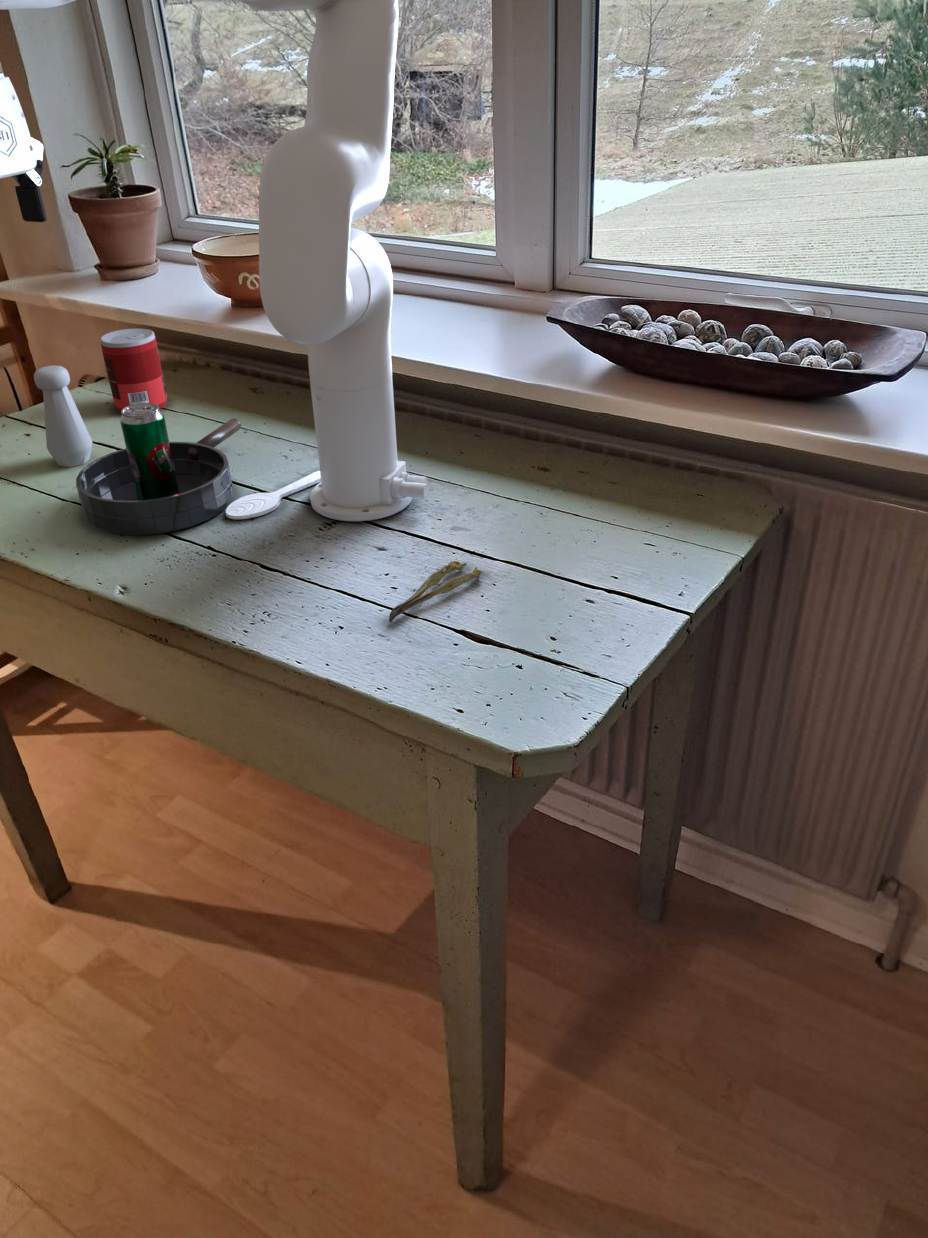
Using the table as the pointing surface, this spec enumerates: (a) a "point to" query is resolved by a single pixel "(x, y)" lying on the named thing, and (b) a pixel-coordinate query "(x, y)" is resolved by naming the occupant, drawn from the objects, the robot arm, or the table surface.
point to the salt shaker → (62, 418)
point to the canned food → (133, 367)
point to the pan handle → (216, 436)
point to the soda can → (149, 451)
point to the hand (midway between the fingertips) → (7, 228)
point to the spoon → (267, 499)
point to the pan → (121, 512)
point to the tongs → (434, 581)
